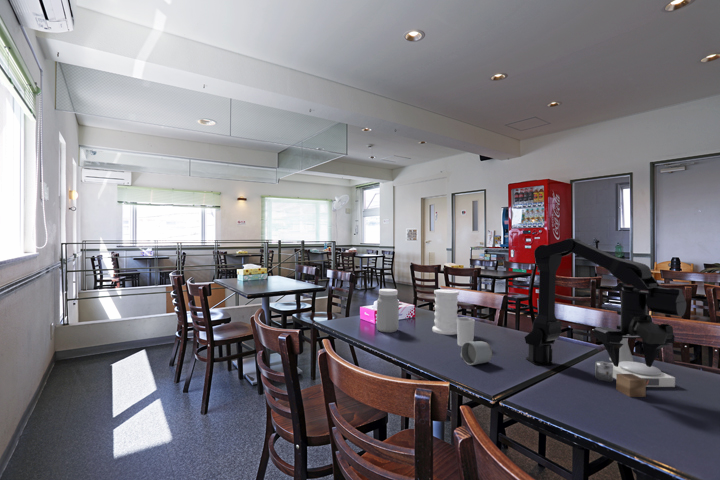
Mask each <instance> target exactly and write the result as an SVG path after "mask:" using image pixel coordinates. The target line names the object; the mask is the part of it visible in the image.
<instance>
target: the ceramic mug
mask: <svg viewBox="0 0 720 480" xmlns="http://www.w3.org/2000/svg"><path fill="white" fill-rule="evenodd" d="M460 350H461V351H460V358H461V359H462V360H463V361H464V363H466V364H467V365H468V366H475V365H481V364H487V363H488V362H490V361H491V359H492V358H493V349H492V347H491V345H490V344H489V343H488V342H485V341H482V340H480V341H477V340H476V341H474V340H473V342H465V343H464V344H463V345H462V346H461V348H460Z"/></svg>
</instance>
